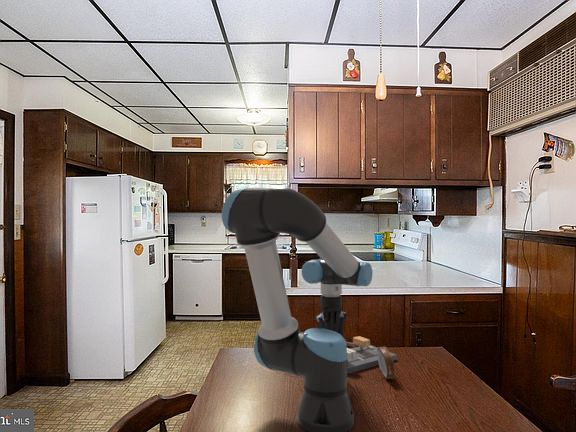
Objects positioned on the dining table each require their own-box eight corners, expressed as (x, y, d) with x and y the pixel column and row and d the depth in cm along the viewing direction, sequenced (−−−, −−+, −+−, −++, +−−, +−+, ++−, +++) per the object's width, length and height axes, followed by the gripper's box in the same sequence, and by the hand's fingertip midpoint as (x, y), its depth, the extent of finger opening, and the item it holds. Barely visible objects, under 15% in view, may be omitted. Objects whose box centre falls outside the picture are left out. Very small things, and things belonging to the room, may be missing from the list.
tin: (395, 383, 125) (395, 357, 125) (385, 383, 125) (385, 357, 125) (385, 366, 140) (384, 343, 140) (376, 366, 140) (376, 343, 140)
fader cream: (348, 365, 134) (348, 353, 134) (337, 360, 139) (337, 348, 140) (356, 363, 136) (355, 351, 136) (344, 358, 141) (344, 346, 141)
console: (336, 377, 130) (336, 369, 130) (311, 363, 143) (311, 356, 143) (396, 359, 146) (396, 353, 146) (368, 349, 159) (368, 342, 159)
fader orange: (363, 352, 148) (363, 341, 148) (352, 348, 153) (352, 337, 153) (370, 351, 150) (370, 339, 150) (359, 346, 155) (359, 335, 155)
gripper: (323, 298, 128) (323, 368, 127) (352, 294, 135) (352, 360, 134) (310, 295, 134) (310, 361, 134) (338, 291, 141) (338, 354, 141)
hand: (331, 361), depth 134 cm, fingers closed
